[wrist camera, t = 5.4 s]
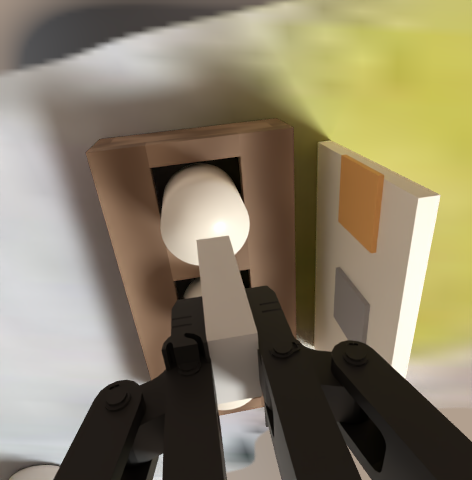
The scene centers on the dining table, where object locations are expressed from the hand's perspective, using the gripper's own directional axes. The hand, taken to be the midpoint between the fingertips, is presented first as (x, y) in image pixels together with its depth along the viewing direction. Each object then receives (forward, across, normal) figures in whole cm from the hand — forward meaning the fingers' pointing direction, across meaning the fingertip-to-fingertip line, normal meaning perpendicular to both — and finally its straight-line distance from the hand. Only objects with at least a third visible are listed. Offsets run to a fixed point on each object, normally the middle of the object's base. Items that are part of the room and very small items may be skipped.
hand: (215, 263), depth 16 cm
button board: (+11, 0, -8) cm, 13 cm away
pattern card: (+11, +9, -7) cm, 16 cm away
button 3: (+7, 0, +1) cm, 7 cm away
